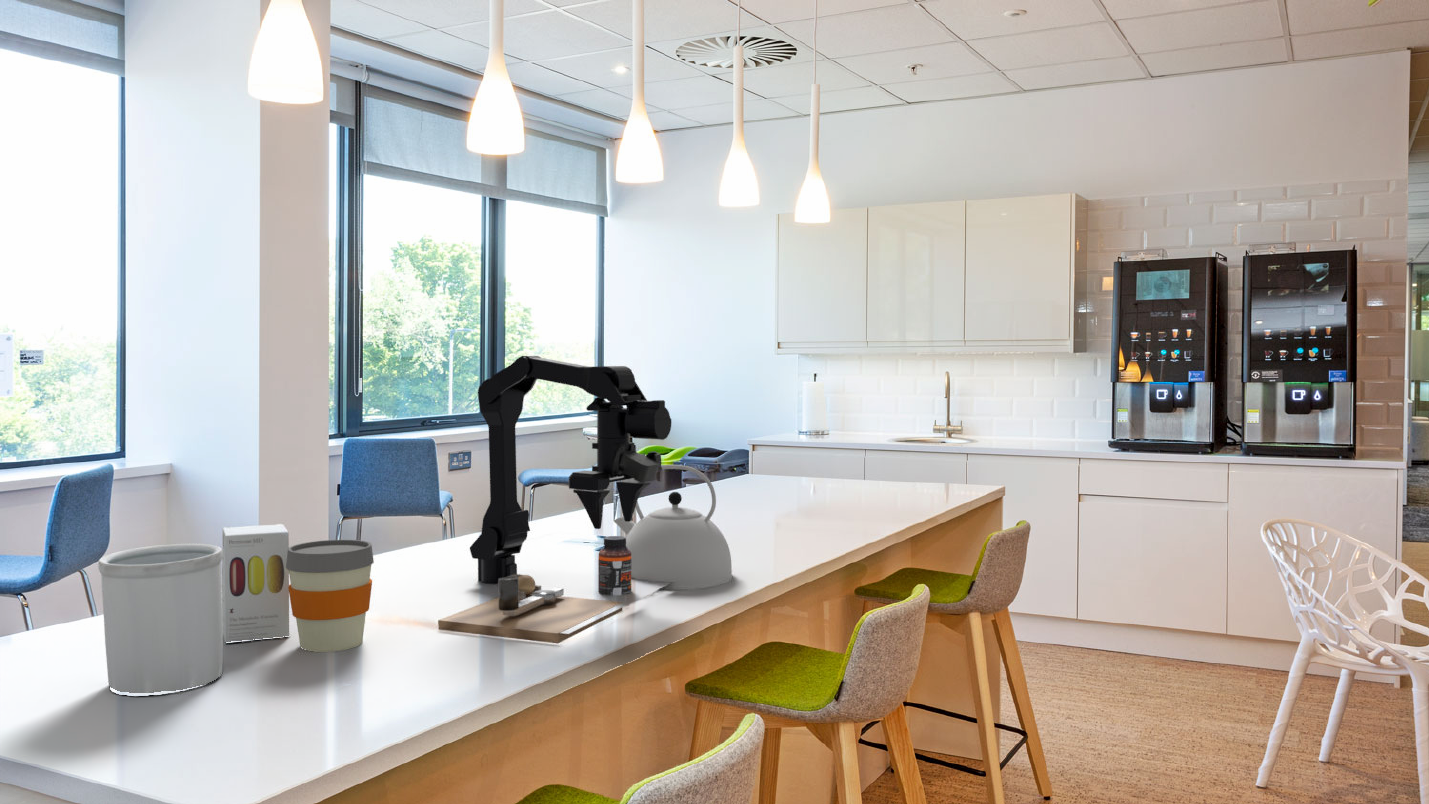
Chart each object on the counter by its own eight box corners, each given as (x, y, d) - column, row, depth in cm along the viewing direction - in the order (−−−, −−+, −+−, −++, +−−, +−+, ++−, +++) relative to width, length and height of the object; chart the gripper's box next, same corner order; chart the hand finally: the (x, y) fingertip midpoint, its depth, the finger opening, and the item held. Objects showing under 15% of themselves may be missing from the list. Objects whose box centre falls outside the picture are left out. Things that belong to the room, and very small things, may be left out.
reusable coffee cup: (286, 638, 164) (284, 542, 163) (371, 629, 169) (369, 537, 168) (288, 659, 152) (286, 556, 151) (378, 650, 157) (377, 550, 156)
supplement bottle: (626, 604, 186) (625, 540, 186) (594, 602, 187) (593, 539, 187) (635, 596, 192) (635, 535, 191) (604, 595, 193) (603, 534, 193)
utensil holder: (94, 705, 132) (90, 567, 131) (109, 672, 146) (106, 547, 145) (223, 690, 138) (220, 558, 137) (226, 660, 152) (223, 540, 151)
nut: (510, 596, 185) (510, 576, 185) (521, 592, 189) (521, 572, 189) (528, 598, 184) (528, 577, 184) (539, 593, 188) (539, 573, 187)
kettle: (587, 583, 204) (586, 467, 203) (638, 562, 225) (638, 457, 224) (705, 594, 194) (705, 473, 193) (748, 571, 215) (748, 461, 214)
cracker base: (437, 629, 169) (437, 601, 169) (516, 598, 191) (516, 573, 191) (558, 643, 161) (558, 614, 161) (626, 608, 183) (626, 583, 182)
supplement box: (224, 645, 160) (221, 535, 159) (221, 631, 168) (219, 526, 167) (291, 637, 164) (289, 530, 163) (285, 624, 172) (284, 522, 171)
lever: (548, 594, 185) (548, 560, 185) (568, 596, 184) (568, 561, 184) (492, 617, 169) (492, 579, 169) (514, 620, 167) (513, 581, 167)
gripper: (620, 443, 173) (620, 537, 174) (680, 435, 189) (679, 521, 190) (566, 439, 178) (566, 531, 179) (628, 432, 195) (628, 516, 195)
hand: (613, 525), depth 186 cm, fingers open, 9 cm apart
